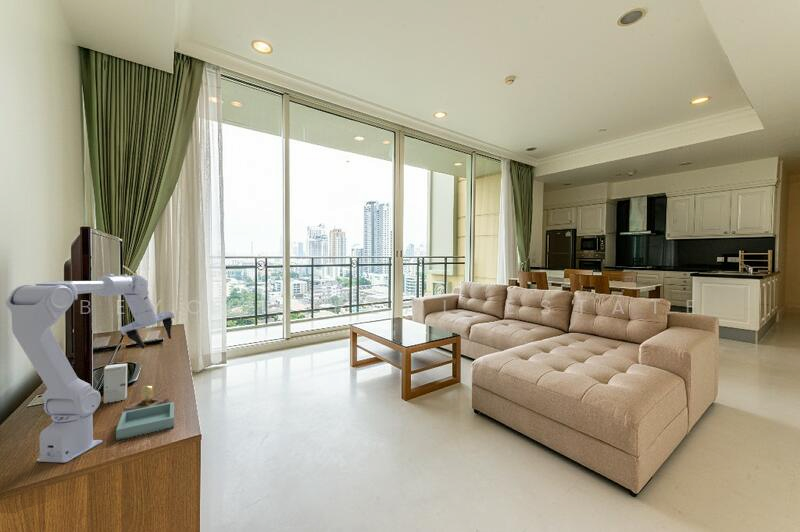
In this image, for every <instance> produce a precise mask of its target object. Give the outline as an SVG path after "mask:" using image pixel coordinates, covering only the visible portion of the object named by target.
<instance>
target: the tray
mask: <svg viewBox="0 0 800 532" xmlns="http://www.w3.org/2000/svg"><path fill="white" fill-rule="evenodd" d="M171 427H175V402H174V401H171V402H168V403H166V404H161V405H156V406H150V407H145V408H140V409H135V410H130V411H125V412H124V411H122V412H121V416H120V417H119V421H118V424H117V426H116V430H115V436H116V438H115V439H116V442H118V441H122V440H121V439H123V440H126V439H125V438H127V439H129V438H128V437H131V438H134V437H133V436H136V437H138V436H137V435H140V436H143V435H142V434H144V435H147V433H149V434H152V433H151V432H153V433H156V432H155V431H157V432H160V431H159V430H161V431H164V430H163V429H166V428H170V429H172V428H171ZM166 430H167V429H166Z"/></svg>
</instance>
